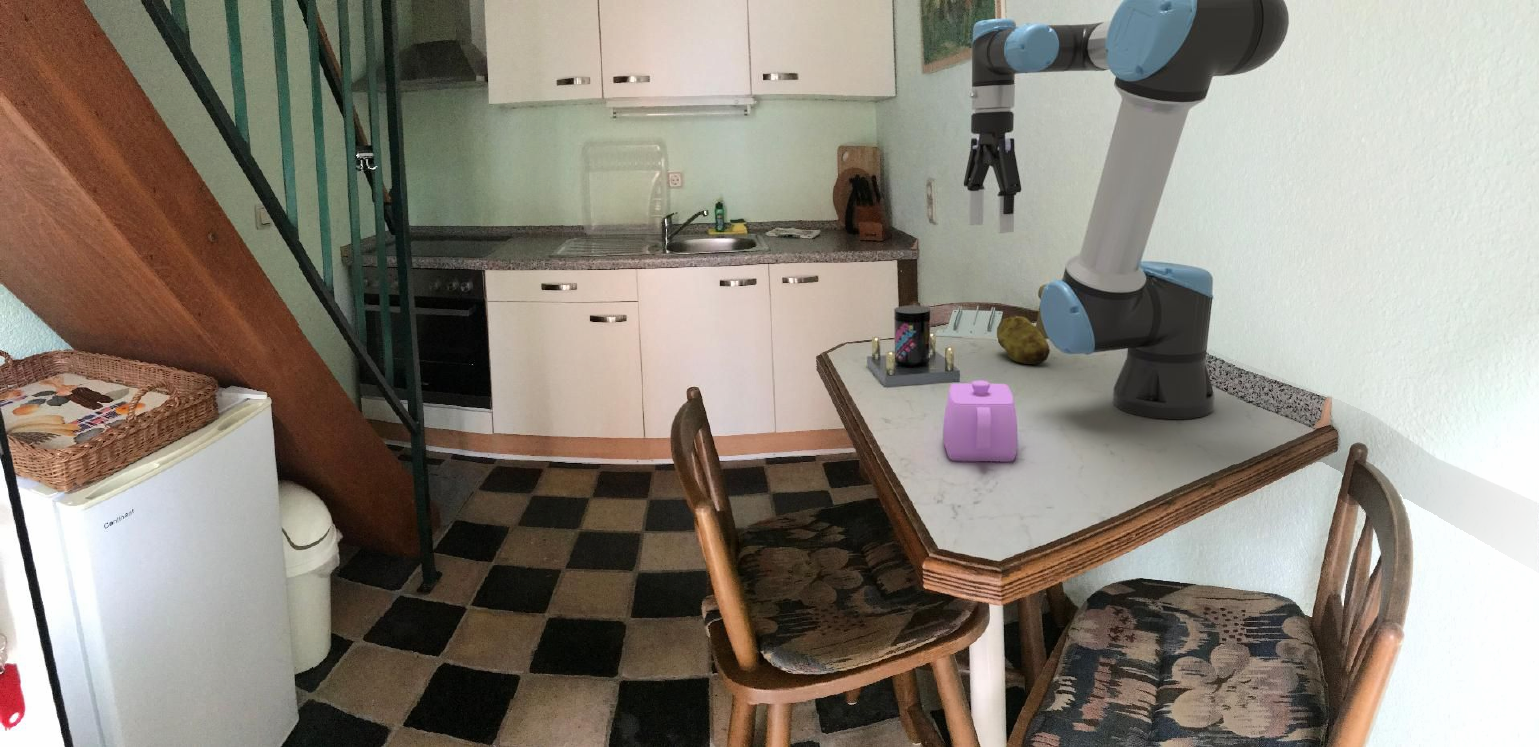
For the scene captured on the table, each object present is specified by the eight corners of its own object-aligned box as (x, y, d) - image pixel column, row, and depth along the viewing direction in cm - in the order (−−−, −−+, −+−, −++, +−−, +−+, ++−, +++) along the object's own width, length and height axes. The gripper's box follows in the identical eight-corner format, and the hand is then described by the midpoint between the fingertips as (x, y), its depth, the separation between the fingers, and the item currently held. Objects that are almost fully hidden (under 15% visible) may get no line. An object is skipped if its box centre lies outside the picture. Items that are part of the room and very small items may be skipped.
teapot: (941, 426, 141) (941, 364, 139) (1009, 427, 140) (1012, 364, 137) (944, 470, 124) (945, 400, 121) (1022, 472, 123) (1025, 401, 120)
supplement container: (893, 358, 172) (892, 305, 169) (928, 358, 172) (929, 304, 169) (895, 368, 166) (895, 313, 163) (932, 368, 165) (932, 312, 162)
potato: (1008, 369, 169) (1009, 328, 167) (992, 351, 182) (993, 313, 180) (1052, 367, 169) (1054, 326, 167) (1033, 349, 182) (1035, 311, 179)
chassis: (959, 381, 163) (960, 349, 162) (884, 387, 162) (884, 355, 160) (936, 361, 177) (936, 331, 175) (867, 366, 175) (866, 336, 174)
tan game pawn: (1040, 339, 189) (1042, 288, 186) (1030, 332, 195) (1032, 282, 192) (1068, 337, 190) (1071, 286, 187) (1056, 331, 195) (1059, 281, 192)
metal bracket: (944, 300, 205) (1012, 302, 199) (945, 322, 208) (1012, 325, 202) (933, 332, 193) (1005, 335, 188) (934, 355, 196) (1005, 358, 191)
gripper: (947, 113, 174) (946, 223, 180) (1002, 110, 150) (999, 237, 156) (984, 111, 175) (982, 220, 181) (1044, 108, 151) (1039, 234, 157)
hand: (990, 228), depth 168 cm, fingers open, 13 cm apart
